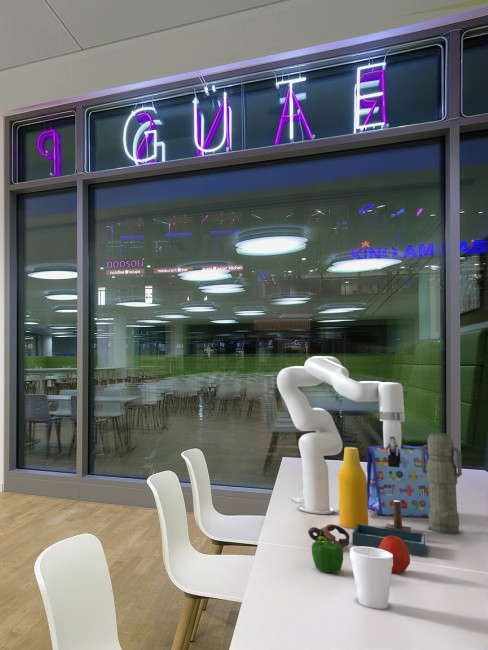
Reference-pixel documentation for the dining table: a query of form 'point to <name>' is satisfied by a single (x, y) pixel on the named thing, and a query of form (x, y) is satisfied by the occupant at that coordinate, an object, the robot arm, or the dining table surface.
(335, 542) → the brown twisted loop
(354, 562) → the foam cup
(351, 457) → the beer bottle
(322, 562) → the bell pepper
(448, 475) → the thermos
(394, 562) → the apple
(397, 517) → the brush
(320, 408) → the robot arm
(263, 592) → the dining table surface
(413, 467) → the lunch bag
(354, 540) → the tray
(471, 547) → the dining table surface
